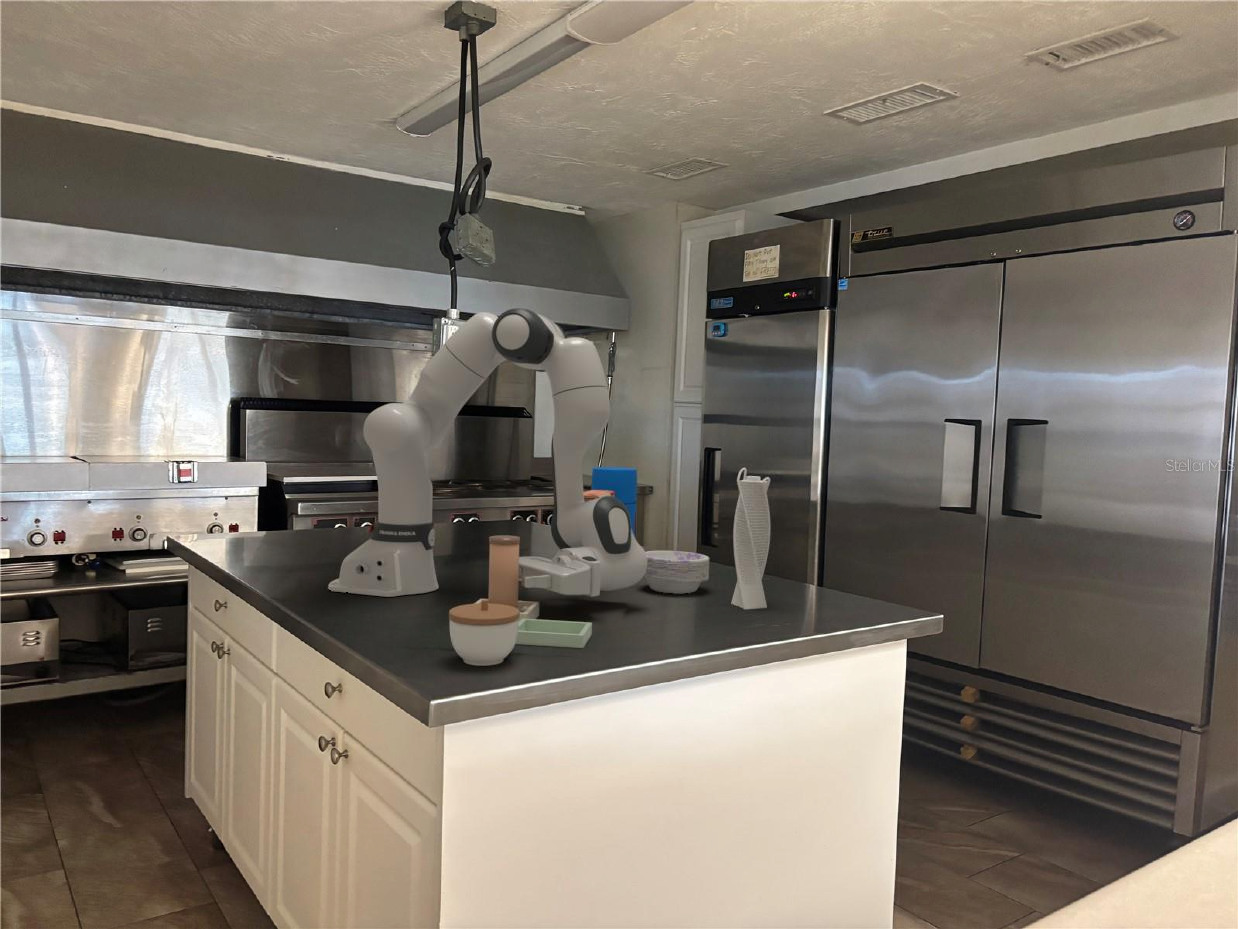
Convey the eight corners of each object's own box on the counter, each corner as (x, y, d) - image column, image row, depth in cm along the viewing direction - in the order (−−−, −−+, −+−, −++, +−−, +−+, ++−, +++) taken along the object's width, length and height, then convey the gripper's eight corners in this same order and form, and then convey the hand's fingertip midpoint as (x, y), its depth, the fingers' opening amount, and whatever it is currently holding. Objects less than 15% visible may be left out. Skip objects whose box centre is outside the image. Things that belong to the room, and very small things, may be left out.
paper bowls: (712, 586, 204) (713, 551, 204) (703, 599, 189) (704, 562, 189) (646, 581, 207) (647, 547, 207) (632, 594, 193) (633, 557, 192)
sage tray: (509, 649, 145) (509, 631, 145) (521, 636, 154) (522, 618, 154) (582, 654, 144) (583, 635, 144) (591, 640, 153) (591, 622, 153)
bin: (400, 626, 159) (401, 606, 158) (420, 614, 168) (420, 595, 168) (526, 634, 156) (527, 614, 156) (538, 620, 166) (539, 602, 166)
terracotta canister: (483, 622, 159) (485, 538, 158) (492, 615, 164) (493, 534, 164) (514, 624, 158) (516, 540, 158) (521, 617, 164) (523, 536, 163)
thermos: (607, 566, 226) (610, 466, 224) (642, 572, 219) (646, 469, 218) (580, 572, 217) (583, 468, 215) (616, 578, 210) (619, 470, 209)
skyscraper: (722, 602, 187) (727, 467, 185) (754, 600, 190) (759, 467, 188) (741, 610, 179) (747, 469, 178) (774, 608, 182) (780, 470, 181)
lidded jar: (440, 654, 142) (441, 595, 141) (506, 648, 146) (507, 591, 146) (458, 673, 132) (459, 609, 131) (528, 666, 136) (529, 605, 136)
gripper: (542, 547, 178) (481, 552, 170) (605, 562, 162) (541, 569, 154) (541, 578, 179) (480, 585, 170) (604, 597, 163) (540, 606, 154)
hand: (509, 577), depth 162 cm, fingers open, 8 cm apart
